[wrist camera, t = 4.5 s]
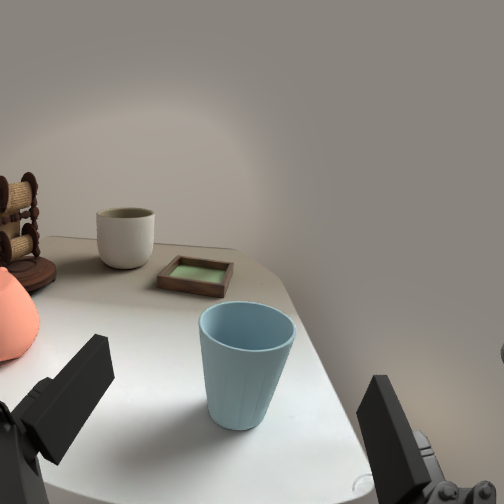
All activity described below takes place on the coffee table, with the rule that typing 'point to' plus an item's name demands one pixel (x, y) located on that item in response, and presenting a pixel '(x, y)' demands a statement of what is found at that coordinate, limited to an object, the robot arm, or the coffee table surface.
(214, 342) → the cup
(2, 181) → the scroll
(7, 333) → the sugar bowl
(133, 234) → the planter
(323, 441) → the coffee table surface
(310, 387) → the coffee table surface
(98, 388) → the robot arm
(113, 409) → the coffee table surface
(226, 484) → the coffee table surface
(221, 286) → the wooden serving tray
